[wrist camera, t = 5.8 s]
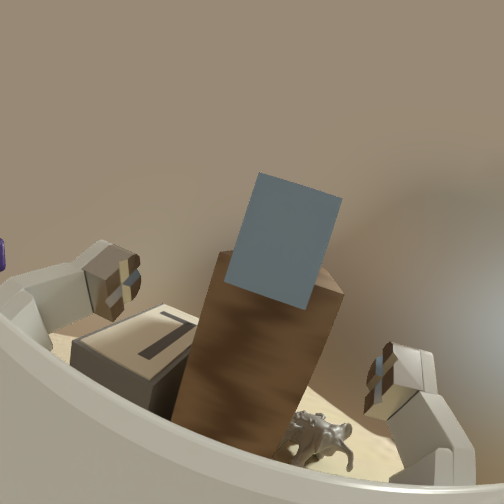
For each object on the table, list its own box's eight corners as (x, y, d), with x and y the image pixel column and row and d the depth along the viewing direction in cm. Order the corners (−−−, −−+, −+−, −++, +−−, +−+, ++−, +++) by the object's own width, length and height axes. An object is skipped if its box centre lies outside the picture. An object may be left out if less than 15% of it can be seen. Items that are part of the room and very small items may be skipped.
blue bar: (305, 266, 30) (318, 227, 30) (305, 309, 10) (342, 198, 10) (276, 256, 31) (289, 217, 30) (223, 281, 11) (259, 172, 11)
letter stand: (190, 416, 39) (218, 324, 38) (132, 494, 22) (153, 383, 20) (141, 393, 41) (162, 301, 39) (68, 455, 23) (72, 338, 22)
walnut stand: (255, 441, 38) (325, 269, 36) (226, 534, 20) (344, 294, 18) (203, 421, 39) (261, 247, 37) (149, 503, 21) (219, 252, 19)
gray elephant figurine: (288, 432, 43) (303, 393, 42) (355, 462, 36) (376, 423, 36) (258, 457, 35) (274, 415, 35) (335, 495, 29) (361, 454, 28)
